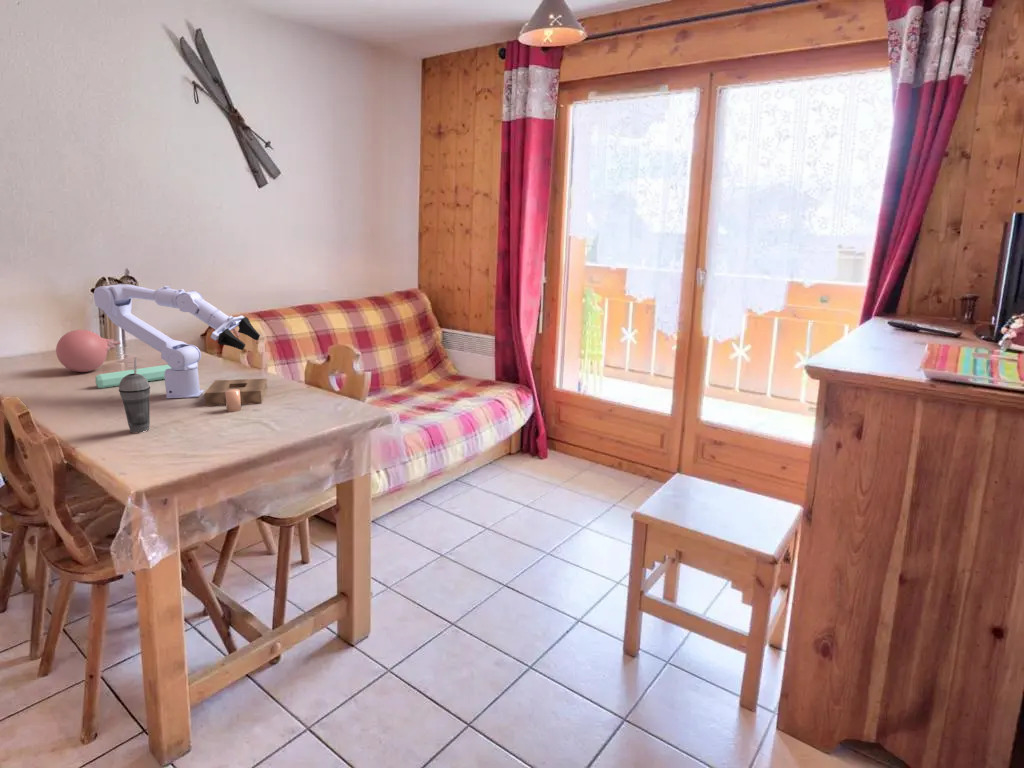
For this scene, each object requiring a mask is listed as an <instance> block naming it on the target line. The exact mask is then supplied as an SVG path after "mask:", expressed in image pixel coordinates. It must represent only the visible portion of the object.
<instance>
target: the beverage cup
mask: <svg viewBox="0 0 1024 768" xmlns="http://www.w3.org/2000/svg"><path fill="white" fill-rule="evenodd" d="M133 359H134V360H133V361H134V362H133V363H134V366H133V367H134V368H133V369H134V374H128V375H126V376H125V377H124V378H123V379H122V380H121V382H120V384H119V386H118V392H119V395H120V398H121V399H122V404H123V408H124V412H125V416H126V420H127V421H126V422H127V425H128V428H129V430H130V431H131V432H143V431H146V430H149V429H150V425H151V424H150V422H151V421H150V420H151V419H150V417H151V416H150V394H151V386H150V384H149V382H148V381H147V379H146V378H145V377H144V376H142V375H140V374H136V369H137V357H134V358H133ZM130 431H129V432H130ZM149 431H150V430H149ZM131 432H130V433H131ZM146 432H147V431H146ZM143 433H144V432H143Z"/></svg>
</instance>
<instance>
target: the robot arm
mask: <svg viewBox="0 0 1024 768" xmlns="http://www.w3.org/2000/svg"><path fill="white" fill-rule="evenodd" d="M133 299H137V300H138V299H141V300H147V301H154V302H155V303H156V305H158V306H161V307H167V308H173V309H177V310H178V309H179V311H180V312H182V313H190V314H192V315H193V316H194V317H196V318H197V319H199V320H200V321H202V322H203V323H205V324H206V325H208V326H209V327H210V328H212V329H214V331H212V332H211V335H210V339H212V340H214V341H215V342H216V341H217V344H218V345H220V346H228V347H232V348H235V349H238V350H241V351H243V350H245V347H246V344H245V342H243V341H242V340H241V339H239V338H238V337H236V336H235V335H234V333H233V332H232V330H234V329H235V328H237V327H238V331H237V332H238V333H240V334H242V335H244V336H247V337H249V338H251V339H253V340H254V341H258V340H259V339H260V336H261V334H260V333H259V332H258V331H257V330H256V329H255V327H254V326H253V325H252V324H251V321H250V319H249V317H246V316H243V315H242V314H241V315H239V316H235V317H234V316H233V315H228V314H226V313H224V312H223V311H222V310H220V309H218V308H217V307H216V306H214V305H213V304H211V303H209V302H208V301H206V300H205V299H204V297H203V295H202V294H201V293H200V292H198V291H196V290H194V289H193V290H189V291H187V292H186V291H185V289H183V288H180V289H174V288H171V286H168V285H164V286H162V287H159V288H158V289H152V288H148V287H142V286H139V285H133V284H130V283H129V284H127V283H125V284H124V283H118V284H112V285H103V286H97V287H96V288H95V289H94V291H93V300H94V304H95V306H96V307H98V308H99V309H101V310H102V311H103V312H104V314H105V315H106V316H107V317H108V319H109V320H110V321H111V323H112V324H114V325H115V326H117V327H119V329H122V330H124V331H125V332H127V333H129V334H130V335H131V336H133V337H135V338H136V339H138V340H139V341H141V342H143V343H144V344H146V345H148V346H149V347H151V348H153V349H154V350H156V351H158V352H159V353H160V358H161V359H162V360H163V361H165V362H166V365H169V366H170V367H171V369H166V370H165V379H164V385H165V392H166V396H165V398H166V399H182V398H183V399H184V398H187V399H188V398H199V397H200V396H201V395H202V394H203V392H204V391H205V390H204V389H201V388H200V378H199V369H198V367H199V362H200V360H201V359H202V354H201V353H202V352H201V350H200V349H199V347H197V346H196V345H194V344H188V343H186V342H184V341H182V340H177V339H176V340H175V339H173V338H171V337H169V336H168V335H166V334H164V333H163V332H162V331H160V330H158V329H157V328H155V327H153V326H152V325H150V324H149V323H148V322H146V321H144V320H142V319H140V318H139V317H137V316H136V315H134V314H132V307H133V306H132V305H133V304H132V303H133Z"/></svg>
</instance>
